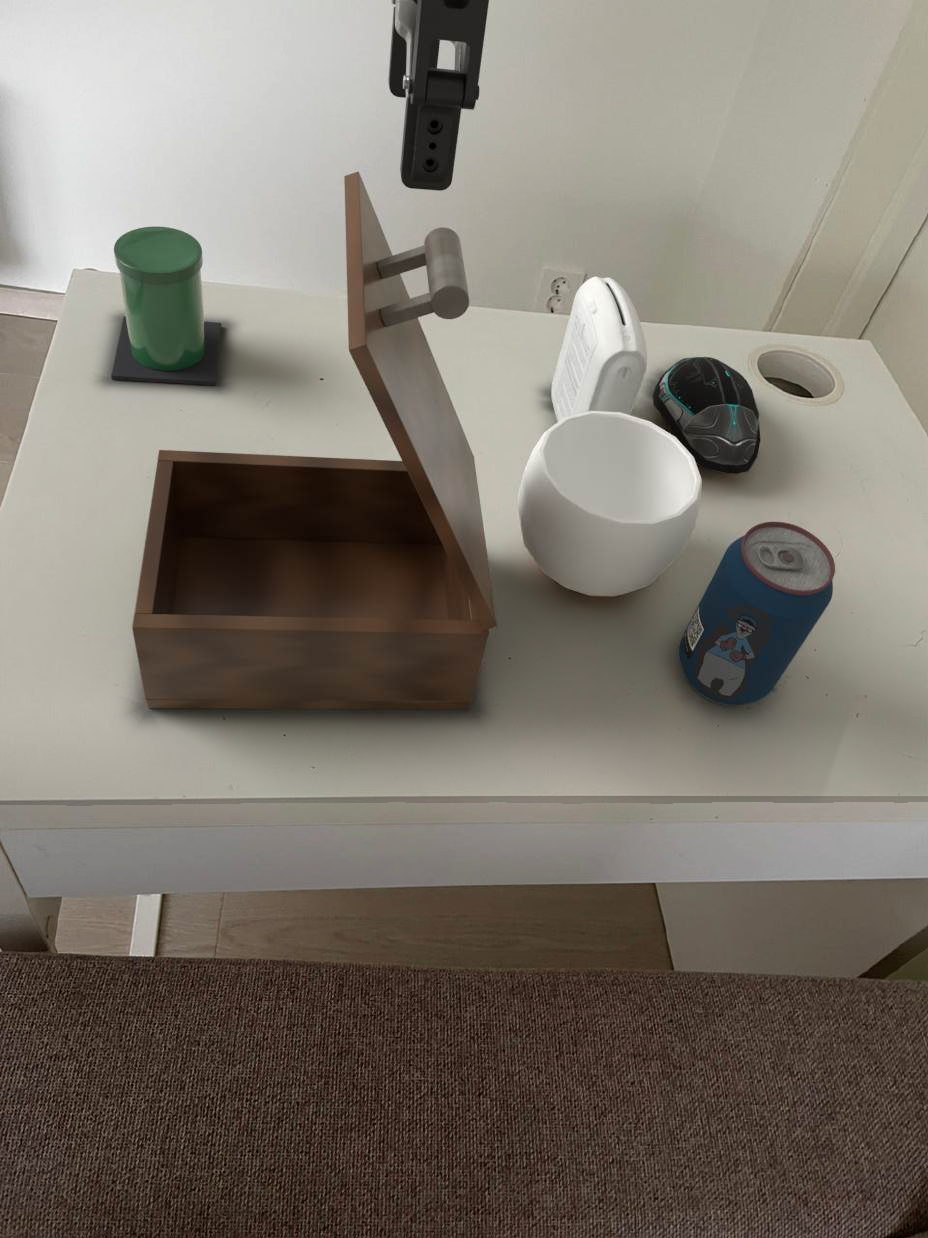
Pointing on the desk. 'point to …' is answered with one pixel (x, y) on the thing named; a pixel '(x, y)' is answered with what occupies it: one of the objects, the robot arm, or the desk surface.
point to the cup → (608, 502)
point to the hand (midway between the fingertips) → (417, 137)
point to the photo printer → (600, 353)
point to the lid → (417, 379)
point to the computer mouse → (710, 413)
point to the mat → (196, 374)
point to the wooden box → (299, 589)
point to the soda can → (756, 613)
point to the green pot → (162, 296)
